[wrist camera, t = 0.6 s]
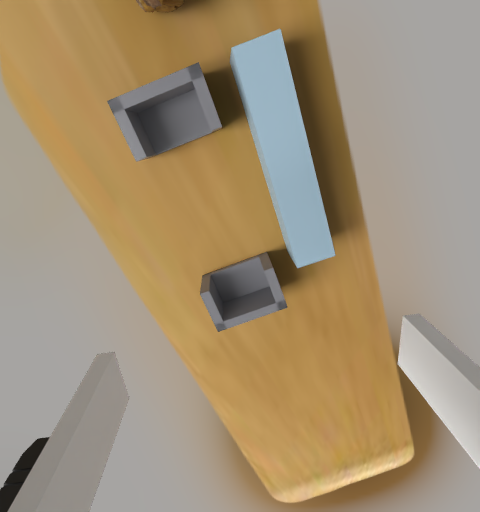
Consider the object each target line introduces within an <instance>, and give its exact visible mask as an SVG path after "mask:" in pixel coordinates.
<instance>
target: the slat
mask: <svg viewBox="0 0 480 512" xmlns="http://www.w3.org/2000/svg"><path fill="white" fill-rule="evenodd" d="M230 64H231V68H232V71H233V74H234V77H235V81H236V84H237V87H238V91H239V94H240V97H241V100H242V104H243V107H244V110H245V113H246V117H247V120H248V123H249V127H250V130H251V133H252V136H253V140H254V143H255V146H256V149H257V153H258V156H259V159H260V162H261V166H262V169H263V172H264V176H265V179H266V182H267V185H268V189H269V192H270V195H271V198H272V202H273V205H274V208H275V212H276V215H277V218H278V221H279V225H280V228H281V231H282V234H283V238H284V241H285V244H286V248H287V251H288V253H289V255H290V257H291V258H292V260H293V262H294V263H295V265H296V267H297V268H300V267H303V266H306V265H309V264H312V263H315V262H318V261H321V260H324V259H327V258H330V257H333V256H336V255H335V251H334V247H333V243H332V239H331V235H330V231H329V227H328V223H327V218H326V214H325V210H324V206H323V202H322V198H321V194H320V190H319V185H318V181H317V177H316V173H315V169H314V165H313V161H312V157H311V153H310V148H309V144H308V140H307V136H306V132H305V128H304V124H303V120H302V116H301V111H300V107H299V103H298V99H297V95H296V91H295V87H294V83H293V78H292V74H291V70H290V66H289V62H288V58H287V54H286V50H285V46H284V41H283V37H282V33H281V29H278V30H276V31H273V32H271V33H268V34H265V35H263V36H260V37H258V38H255V39H253V40H250V41H248V42H245V43H242V44H240V45H237V46H235V47H232V49H231V57H230Z"/></svg>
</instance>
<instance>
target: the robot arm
mask: <svg viewBox="0 0 480 512" xmlns="http://www.w3.org/2000/svg"><path fill="white" fill-rule="evenodd" d="M398 365H399V366H400V367H401V369H402V370H403V371H404V372H405V374H406V375H407V376H408V378H409V379H410V380H411V381H412V383H413V384H414V385H415V387H416V388H417V389H418V390H419V392H420V393H421V394H422V396H424V398H425V399H426V401H427V402H428V403H429V405H430V406H431V407H432V408H433V409H434V411H435V412H436V414H437V415H438V416H439V417H440V419H441V420H442V421H443V423H444V424H445V425H446V426H447V428H448V429H449V430H450V431H451V433H452V434H453V435H454V437H455V438H456V439H457V440H458V442H459V443H460V444H461V446H462V447H463V448H464V449H465V451H466V452H467V453H468V455H469V456H470V457H471V458H472V460H473V461H474V462H475V464H476V465H477V466H478V467H479V469H480V367H479V366H478V365H477V364H475V363H474V362H473V361H472V360H471V359H470V358H469V357H468V356H467V355H465V354H464V353H463V352H462V351H461V350H460V349H459V348H457V347H456V346H455V345H454V344H453V343H452V342H451V341H450V340H449V339H447V338H446V337H445V336H444V335H443V334H442V333H441V332H440V331H438V330H437V329H436V328H435V327H434V326H433V325H432V324H430V323H429V322H428V321H427V320H426V319H425V318H424V317H423V316H421V315H420V314H414V315H405V316H403V321H402V331H401V339H400V349H399V358H398ZM128 400H129V396H128V393H127V389H126V386H125V383H124V380H123V377H122V374H121V371H120V368H119V365H118V361H117V358H116V355H115V352H109V353H101V354H97V355H96V357H95V359H94V361H93V363H92V364H91V366H90V368H89V370H88V371H87V373H86V375H85V377H84V378H83V380H82V382H81V384H80V385H79V387H78V389H77V391H76V392H75V394H74V396H73V398H72V400H71V401H70V403H69V405H68V406H67V408H66V410H65V412H64V413H63V415H62V417H61V419H60V420H59V422H58V424H57V426H56V427H55V429H54V431H53V433H52V435H51V436H50V437H48V438H40V439H37V440H36V441H35V442H34V443H33V444H32V445H31V446H30V447H29V448H28V449H27V450H26V451H25V452H24V453H23V454H22V456H21V457H20V459H19V461H18V462H17V464H16V465H15V467H14V469H13V472H12V473H11V474H10V475H9V477H8V478H7V480H6V481H5V483H4V487H3V488H1V489H0V512H89V511H90V508H91V506H92V503H93V500H94V497H95V494H96V491H97V488H98V486H99V483H100V480H101V477H102V474H103V471H104V468H105V466H106V463H107V460H108V457H109V454H110V451H111V448H112V446H113V443H114V440H115V437H116V434H117V432H118V429H119V426H120V423H121V420H122V417H123V414H124V411H125V409H126V406H127V403H128Z"/></svg>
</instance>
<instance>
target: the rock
mask: <svg viewBox="0 0 480 512" xmlns="http://www.w3.org/2000/svg"><path fill="white" fill-rule="evenodd" d="M136 1H137V3H138V4H139V6H140V7H141V8H142V9H143V10H144V11H145V12H154V11H157V12H170V11H173V10H174V9H177V7H180V6H181V5H182V4H184V0H136Z"/></svg>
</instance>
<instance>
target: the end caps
mask: <svg viewBox="0 0 480 512" xmlns="http://www.w3.org/2000/svg"><path fill="white" fill-rule="evenodd" d="M107 102H108V104H109V106H110V108H111V110H112V112H113V114H114V116H115V118H116V120H117V122H118V125H119V127H120V129H121V131H122V133H123V135H124V137H125V139H126V141H127V143H128V145H129V147H130V150H131V152H132V154H133V156H134V158H135V160H136V161H140V160H144V159H148V158H150V157H153V156H155V155H158V154H160V153H163V152H165V151H168V150H170V149H173V148H175V147H178V146H180V145H182V144H185V143H187V142H190V141H192V140H195V139H197V138H200V137H202V136H205V135H207V134H210V133H212V132H215V131H217V130H220V129H222V125H221V123H220V120H219V117H218V114H217V112H216V109H215V106H214V103H213V101H212V98H211V95H210V92H209V89H208V87H207V84H206V81H205V78H204V76H203V73H202V70H201V67H200V65H199V62H198V63H196V64H194V65H191V66H189V67H186V68H184V69H182V70H179V71H177V72H175V73H172V74H170V75H168V76H165V77H163V78H161V79H158V80H156V81H153V82H151V83H149V84H146V85H144V86H142V87H139V88H137V89H135V90H132V91H130V92H128V93H125V94H123V95H120V96H118V97H116V98H113V99H111V100H109V101H107ZM200 295H201V297H202V299H203V301H204V304H205V306H206V308H207V310H208V312H209V314H210V316H211V318H212V320H213V322H214V324H215V326H216V328H217V331H218V332H219V331H222V330H225V329H228V328H231V327H233V326H236V325H239V324H242V323H245V322H248V321H250V320H253V319H256V318H259V317H262V316H265V315H268V314H270V313H273V312H276V311H279V310H282V309H285V308H287V304H286V302H285V299H284V296H283V293H282V291H281V288H280V285H279V282H278V280H277V277H276V274H275V271H274V269H273V266H272V264H271V261H270V259H269V256H268V254H267V252H265V253H262V254H260V255H257V256H254V257H251V258H249V259H246V260H243V261H241V262H238V263H235V264H232V265H230V266H227V267H224V268H222V269H219V270H216V271H213V272H211V273H208V274H205V275H203V276H202V283H201V291H200Z"/></svg>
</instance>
